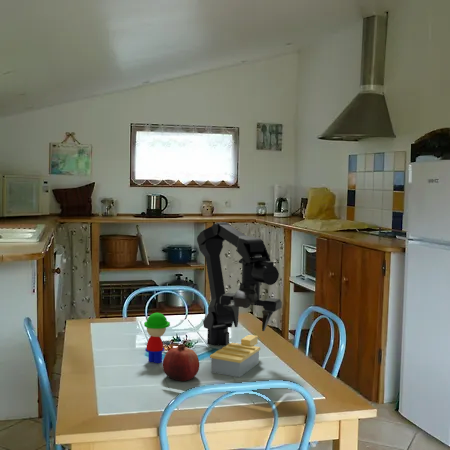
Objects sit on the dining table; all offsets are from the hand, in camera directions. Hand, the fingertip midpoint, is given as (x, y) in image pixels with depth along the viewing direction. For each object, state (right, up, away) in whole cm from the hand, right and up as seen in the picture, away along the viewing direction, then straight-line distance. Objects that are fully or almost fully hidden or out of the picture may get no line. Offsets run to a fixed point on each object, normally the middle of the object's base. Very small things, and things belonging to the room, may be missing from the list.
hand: (249, 328), depth 179 cm
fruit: (-20, -11, -17) cm, 29 cm away
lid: (-3, -6, -6) cm, 9 cm away
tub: (-5, -11, -8) cm, 14 cm away
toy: (-29, -10, -1) cm, 30 cm away
